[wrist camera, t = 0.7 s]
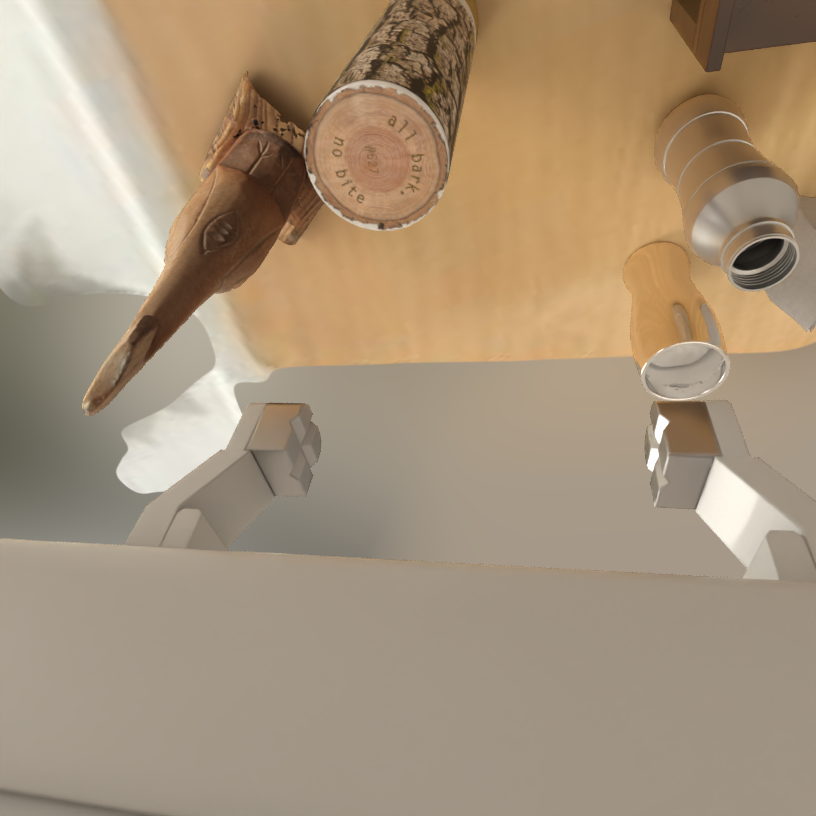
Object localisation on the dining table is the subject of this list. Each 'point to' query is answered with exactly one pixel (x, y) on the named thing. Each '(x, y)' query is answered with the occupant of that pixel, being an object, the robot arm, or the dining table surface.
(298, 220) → the bird sculpture
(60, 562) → the robot arm
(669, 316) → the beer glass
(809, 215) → the paper bag
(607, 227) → the dining table surface
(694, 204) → the silver metal bottle
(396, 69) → the wooden log
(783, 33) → the bench
